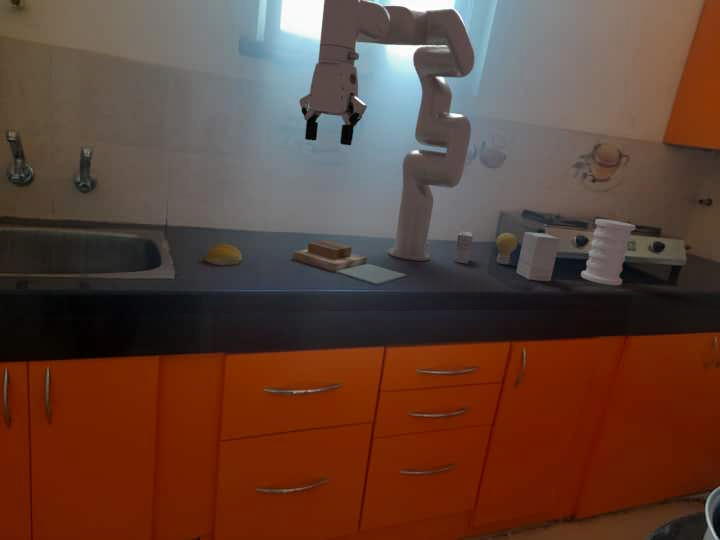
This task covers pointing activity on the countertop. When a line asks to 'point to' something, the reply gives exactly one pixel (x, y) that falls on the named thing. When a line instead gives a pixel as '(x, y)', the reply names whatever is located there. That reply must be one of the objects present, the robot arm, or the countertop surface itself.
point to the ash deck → (329, 260)
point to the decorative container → (608, 252)
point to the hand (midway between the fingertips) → (327, 142)
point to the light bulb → (505, 247)
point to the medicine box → (463, 247)
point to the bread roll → (224, 255)
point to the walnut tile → (329, 249)
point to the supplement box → (537, 256)
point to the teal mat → (371, 273)
